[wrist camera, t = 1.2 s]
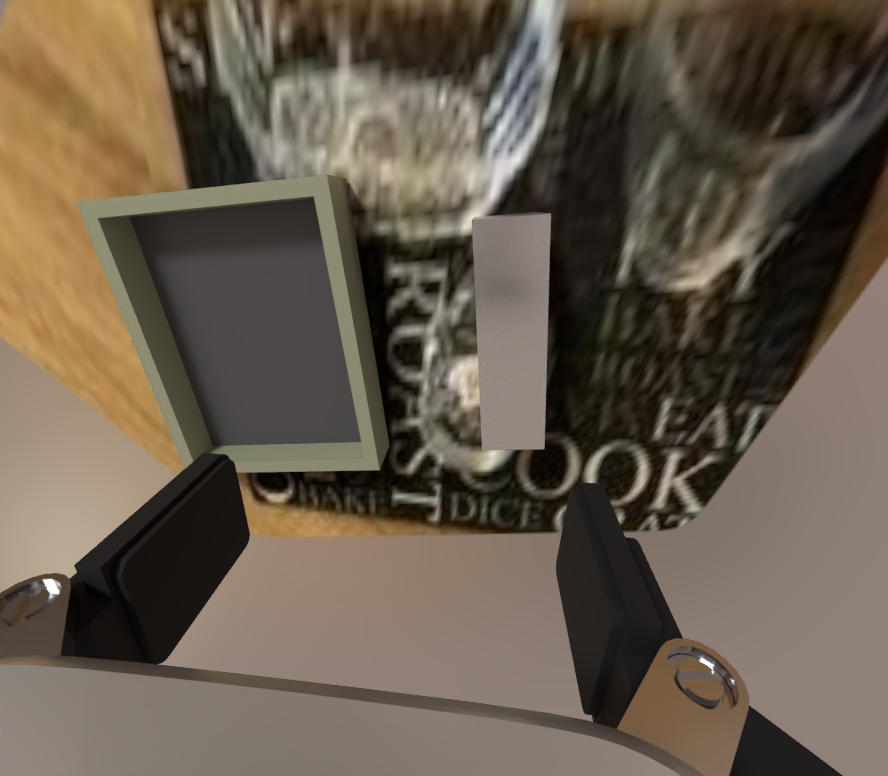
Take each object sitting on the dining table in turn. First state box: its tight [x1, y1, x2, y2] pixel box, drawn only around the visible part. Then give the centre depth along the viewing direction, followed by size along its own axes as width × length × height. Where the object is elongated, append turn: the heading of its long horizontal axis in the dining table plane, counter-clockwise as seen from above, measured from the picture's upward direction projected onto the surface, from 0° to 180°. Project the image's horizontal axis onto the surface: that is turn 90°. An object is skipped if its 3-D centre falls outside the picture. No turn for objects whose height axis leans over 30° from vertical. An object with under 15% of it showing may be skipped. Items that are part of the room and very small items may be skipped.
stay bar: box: [472, 212, 551, 450], centre depth 26 cm, size 4×14×6 cm, turn 4°
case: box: [76, 175, 389, 473], centre depth 30 cm, size 16×20×4 cm
